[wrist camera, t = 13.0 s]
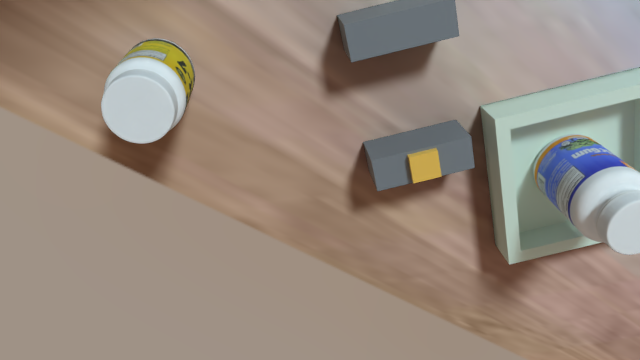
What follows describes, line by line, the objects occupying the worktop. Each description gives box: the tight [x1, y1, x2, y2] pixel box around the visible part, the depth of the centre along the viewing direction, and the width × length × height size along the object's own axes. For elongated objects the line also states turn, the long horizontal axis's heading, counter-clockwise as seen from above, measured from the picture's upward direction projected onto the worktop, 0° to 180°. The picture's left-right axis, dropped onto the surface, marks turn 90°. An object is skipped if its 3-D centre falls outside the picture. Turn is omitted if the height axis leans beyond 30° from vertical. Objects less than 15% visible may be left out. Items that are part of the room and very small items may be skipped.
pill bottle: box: [533, 134, 640, 255], centre depth 41 cm, size 5×5×10 cm
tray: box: [480, 67, 640, 265], centre depth 45 cm, size 12×12×3 cm
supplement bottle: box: [101, 39, 195, 144], centre depth 37 cm, size 5×5×8 cm
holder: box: [337, 0, 475, 191], centre depth 41 cm, size 12×7×4 cm, turn 13°
